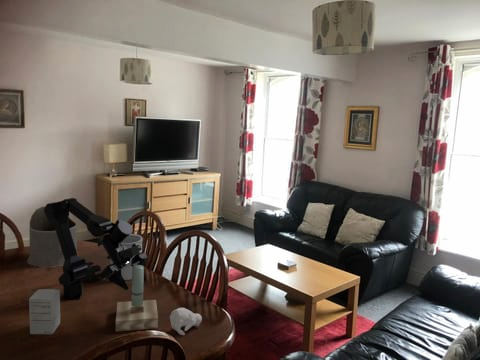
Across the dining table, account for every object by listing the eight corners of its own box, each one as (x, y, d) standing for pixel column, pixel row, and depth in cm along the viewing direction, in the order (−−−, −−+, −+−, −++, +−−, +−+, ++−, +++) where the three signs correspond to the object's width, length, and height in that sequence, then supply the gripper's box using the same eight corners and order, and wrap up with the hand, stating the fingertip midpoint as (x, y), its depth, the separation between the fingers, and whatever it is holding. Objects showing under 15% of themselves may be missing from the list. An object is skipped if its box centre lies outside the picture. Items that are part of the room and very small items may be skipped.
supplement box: (38, 322, 133) (38, 288, 131) (60, 323, 134) (60, 289, 132) (29, 334, 126) (28, 298, 124) (52, 334, 126) (51, 298, 124)
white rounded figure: (169, 306, 132) (197, 300, 140) (166, 330, 133) (194, 323, 141) (178, 314, 127) (207, 307, 135) (175, 338, 128) (204, 330, 136)
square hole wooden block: (115, 332, 130) (115, 321, 129) (117, 312, 143) (117, 302, 143) (157, 328, 134) (157, 317, 133) (155, 309, 147) (155, 299, 146)
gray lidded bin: (67, 248, 208) (67, 203, 205) (94, 265, 187) (94, 215, 183) (20, 257, 192) (19, 208, 188) (44, 276, 170) (43, 222, 167)
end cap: (74, 277, 172) (74, 263, 171) (89, 273, 177) (89, 259, 176) (86, 284, 165) (86, 269, 164) (101, 280, 171) (101, 265, 170)
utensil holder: (110, 282, 168) (110, 244, 166) (107, 270, 182) (107, 234, 179) (144, 279, 174) (145, 242, 172) (139, 267, 188) (139, 232, 185)
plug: (131, 307, 135) (131, 269, 133) (131, 301, 139) (131, 265, 137) (143, 306, 136) (144, 269, 134) (143, 301, 140) (144, 264, 138)
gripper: (106, 243, 128) (130, 282, 125) (144, 231, 145) (166, 265, 142) (89, 260, 133) (112, 299, 130) (128, 247, 150) (149, 280, 146)
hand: (136, 285), depth 137 cm, fingers open, 9 cm apart
